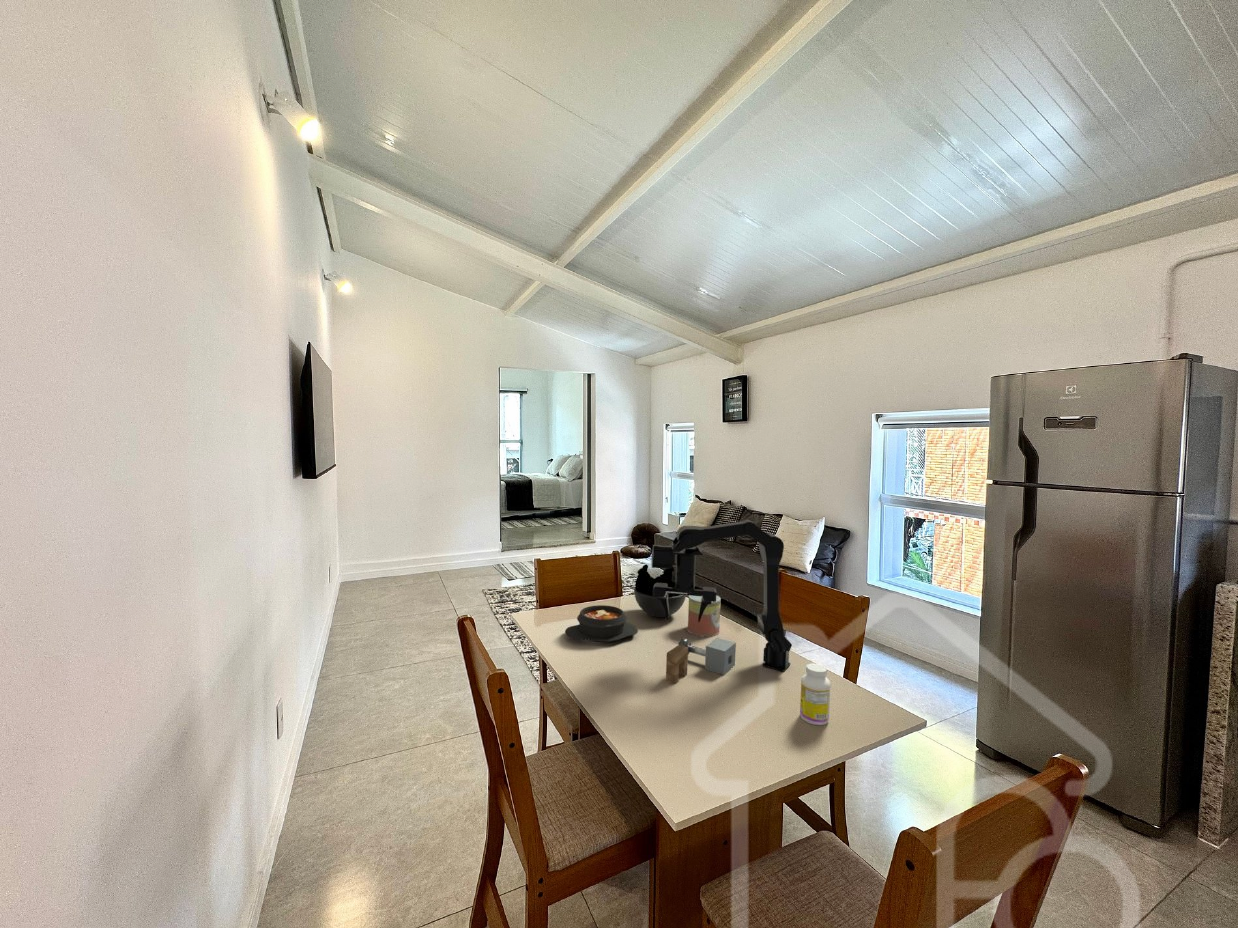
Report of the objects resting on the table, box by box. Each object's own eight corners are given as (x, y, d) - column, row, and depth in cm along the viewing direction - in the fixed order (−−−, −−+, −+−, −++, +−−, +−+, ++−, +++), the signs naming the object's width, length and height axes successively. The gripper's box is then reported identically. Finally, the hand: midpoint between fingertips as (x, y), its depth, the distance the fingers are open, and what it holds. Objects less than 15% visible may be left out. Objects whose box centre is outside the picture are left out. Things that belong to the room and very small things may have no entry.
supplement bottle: (805, 708, 129) (807, 658, 128) (832, 718, 124) (834, 666, 124) (795, 719, 123) (798, 667, 123) (823, 729, 119) (826, 676, 119)
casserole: (571, 650, 160) (571, 624, 160) (560, 629, 178) (560, 605, 177) (645, 643, 167) (646, 618, 167) (627, 623, 185) (628, 600, 185)
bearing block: (734, 665, 152) (735, 642, 152) (724, 674, 146) (724, 651, 146) (716, 659, 156) (717, 637, 156) (705, 669, 149) (705, 645, 149)
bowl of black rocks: (696, 619, 191) (698, 570, 190) (653, 628, 181) (654, 576, 180) (664, 604, 208) (666, 558, 207) (623, 611, 198) (624, 564, 197)
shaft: (723, 662, 153) (724, 646, 153) (716, 668, 149) (717, 651, 149) (685, 651, 160) (685, 635, 160) (677, 656, 156) (678, 640, 156)
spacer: (687, 674, 146) (688, 647, 145) (675, 683, 140) (676, 655, 139) (677, 671, 147) (678, 644, 147) (665, 680, 142) (666, 652, 141)
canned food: (710, 639, 172) (711, 604, 172) (681, 630, 179) (682, 597, 179) (725, 629, 181) (726, 596, 181) (697, 622, 188) (698, 590, 188)
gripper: (717, 564, 158) (714, 614, 159) (657, 560, 162) (655, 608, 162) (717, 573, 147) (715, 626, 148) (653, 568, 151) (651, 620, 151)
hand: (683, 619), depth 153 cm, fingers open, 9 cm apart
